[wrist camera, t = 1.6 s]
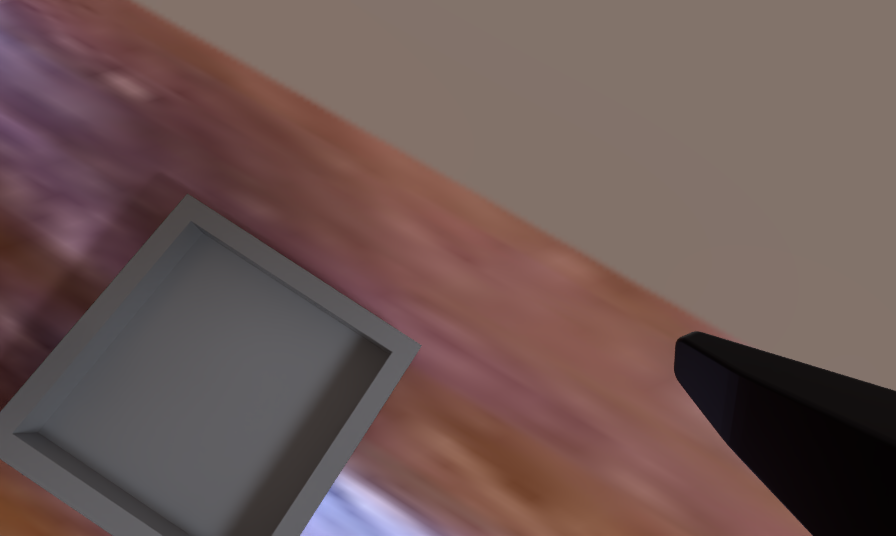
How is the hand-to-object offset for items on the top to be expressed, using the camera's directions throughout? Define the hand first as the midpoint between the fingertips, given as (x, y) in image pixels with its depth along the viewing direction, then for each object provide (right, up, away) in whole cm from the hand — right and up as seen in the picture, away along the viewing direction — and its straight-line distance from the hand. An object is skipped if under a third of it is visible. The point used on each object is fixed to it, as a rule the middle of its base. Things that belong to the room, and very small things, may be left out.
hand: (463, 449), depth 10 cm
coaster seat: (-9, -2, +12) cm, 15 cm away
